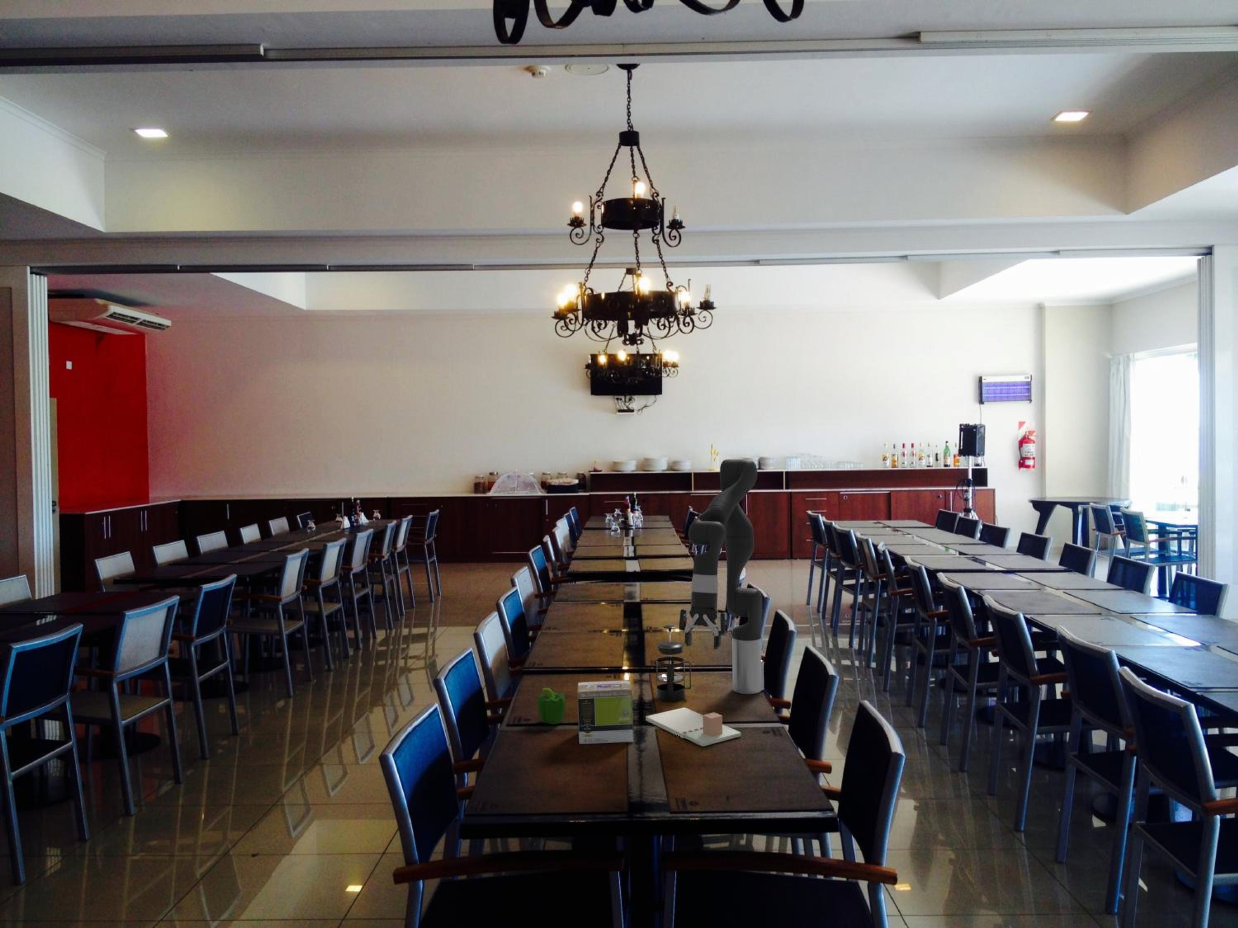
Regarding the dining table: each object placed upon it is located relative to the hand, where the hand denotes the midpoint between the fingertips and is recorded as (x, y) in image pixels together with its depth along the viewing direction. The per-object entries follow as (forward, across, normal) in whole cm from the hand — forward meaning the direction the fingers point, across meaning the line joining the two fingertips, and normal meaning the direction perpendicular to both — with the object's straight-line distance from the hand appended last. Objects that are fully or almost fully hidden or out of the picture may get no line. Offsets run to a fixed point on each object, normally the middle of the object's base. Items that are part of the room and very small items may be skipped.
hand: (702, 647), depth 248 cm
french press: (+20, +19, -22) cm, 35 cm away
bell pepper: (+25, +41, +14) cm, 50 cm away
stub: (+23, -7, +6) cm, 25 cm away
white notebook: (+22, +5, -1) cm, 23 cm away
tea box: (+25, +20, +18) cm, 37 cm away
